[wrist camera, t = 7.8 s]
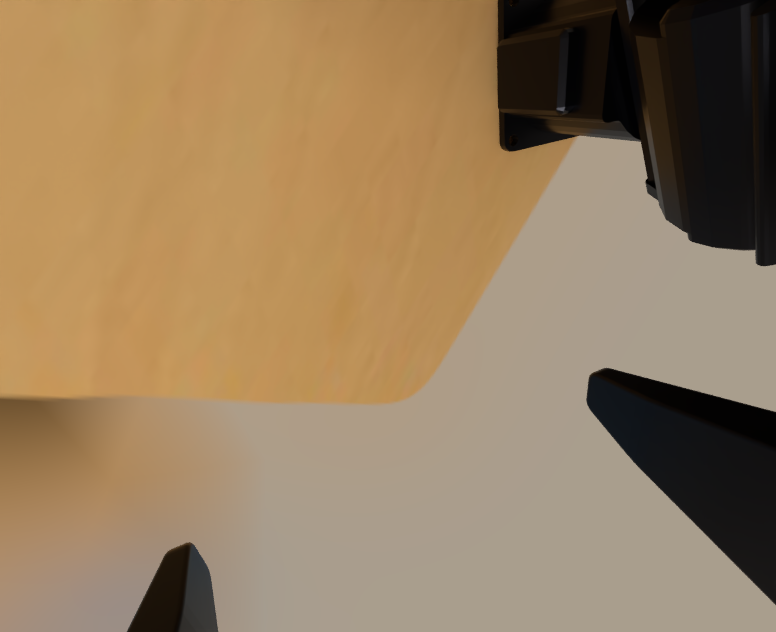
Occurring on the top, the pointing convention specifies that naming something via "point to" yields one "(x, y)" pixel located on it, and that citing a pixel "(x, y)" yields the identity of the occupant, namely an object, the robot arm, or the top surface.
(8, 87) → the top surface
